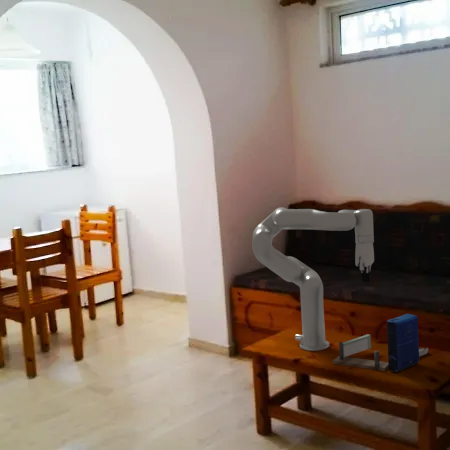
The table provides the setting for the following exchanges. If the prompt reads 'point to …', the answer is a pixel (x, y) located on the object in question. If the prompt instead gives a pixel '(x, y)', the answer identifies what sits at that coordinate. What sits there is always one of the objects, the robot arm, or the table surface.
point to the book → (402, 342)
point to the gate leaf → (356, 345)
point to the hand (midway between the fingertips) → (366, 281)
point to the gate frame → (360, 361)
